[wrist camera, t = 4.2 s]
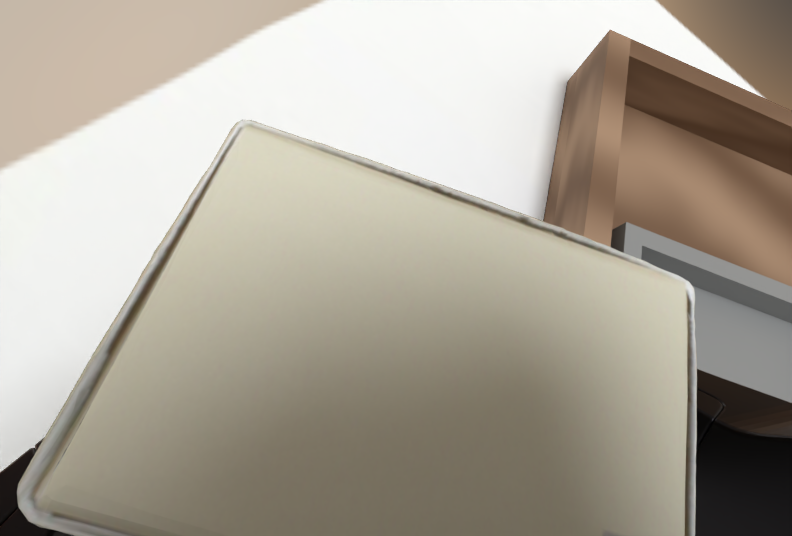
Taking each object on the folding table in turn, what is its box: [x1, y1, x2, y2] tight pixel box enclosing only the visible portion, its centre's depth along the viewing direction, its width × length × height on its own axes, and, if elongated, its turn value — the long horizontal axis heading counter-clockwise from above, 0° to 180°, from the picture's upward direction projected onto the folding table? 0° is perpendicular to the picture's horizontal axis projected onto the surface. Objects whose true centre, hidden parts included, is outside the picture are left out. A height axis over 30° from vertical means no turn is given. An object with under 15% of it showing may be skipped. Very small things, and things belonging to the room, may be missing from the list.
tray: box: [611, 222, 792, 403], centre depth 14 cm, size 18×16×4 cm
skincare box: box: [17, 120, 697, 536], centre depth 10 cm, size 6×4×12 cm
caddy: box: [544, 30, 792, 287], centre depth 19 cm, size 19×16×4 cm
